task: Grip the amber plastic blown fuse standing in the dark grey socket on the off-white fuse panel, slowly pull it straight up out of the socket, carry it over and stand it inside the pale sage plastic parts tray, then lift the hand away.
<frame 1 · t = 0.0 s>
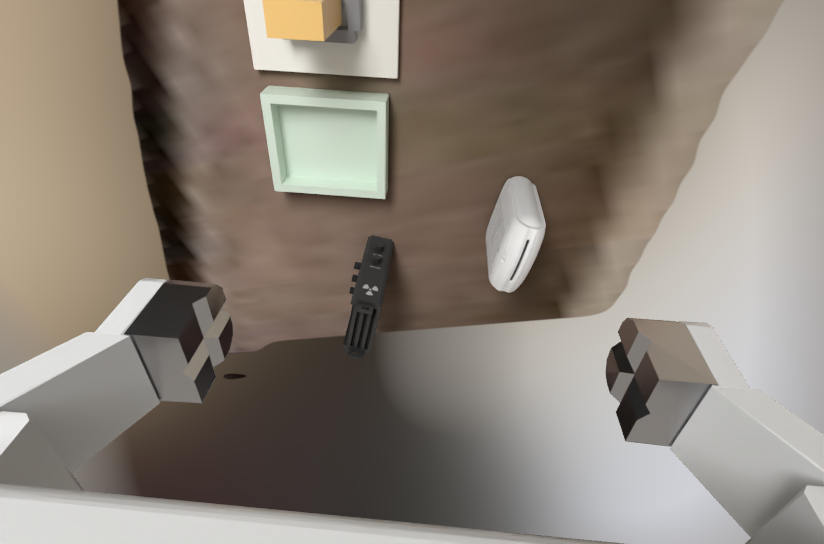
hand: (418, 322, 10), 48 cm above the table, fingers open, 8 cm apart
blown fuse: (320, 1, 48), point 1 cm above the table, touching fuse panel
photo printer: (508, 209, 62), on the table
geiger counter: (373, 260, 69), on the table
parts tray: (331, 139, 58), on the table
fuse panel: (322, 0, 49), on the table
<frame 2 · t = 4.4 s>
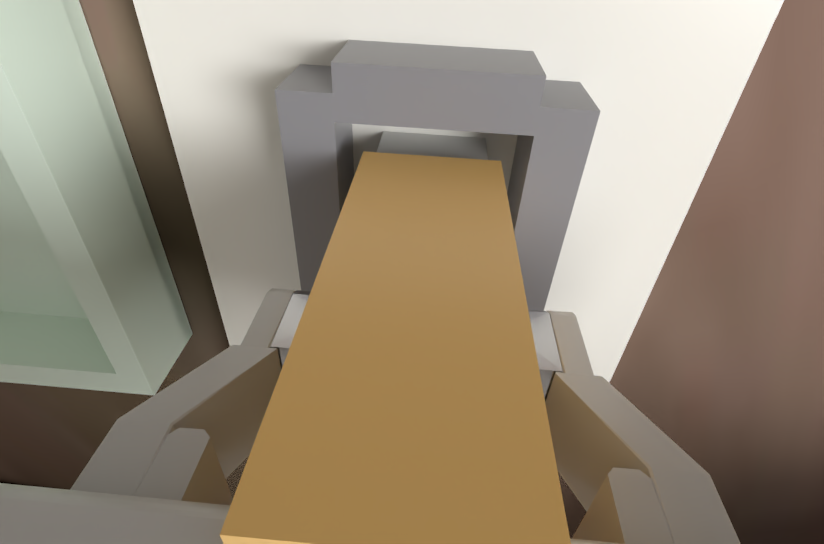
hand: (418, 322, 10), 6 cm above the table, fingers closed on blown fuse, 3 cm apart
blown fuse: (428, 209, 13), point 1 cm above the table, touching fuse panel, gripper
fuse panel: (430, 192, 14), on the table
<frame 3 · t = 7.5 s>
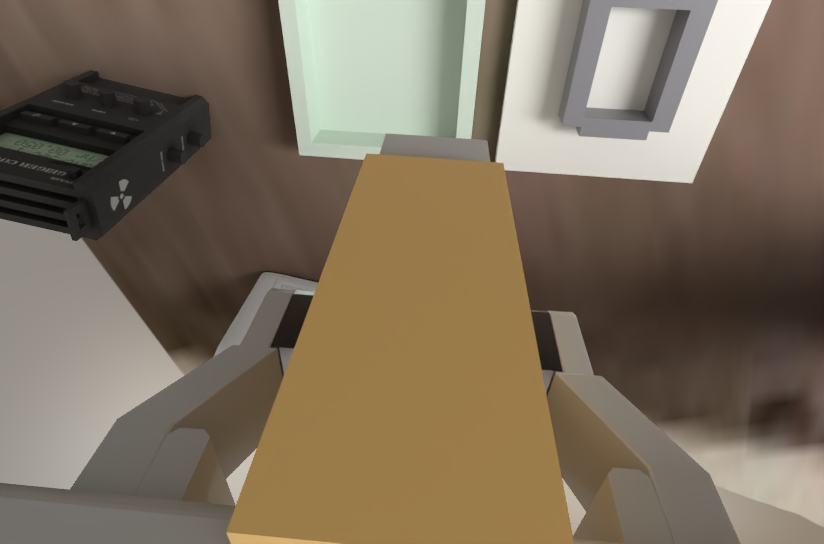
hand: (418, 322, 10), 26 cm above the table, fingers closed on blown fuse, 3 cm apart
blown fuse: (430, 211, 13), point 22 cm above the table, touching gripper
photo printer: (310, 292, 46), on the table
geiger counter: (154, 101, 36), on the table
parts tray: (388, 42, 31), on the table
fuse panel: (621, 54, 30), on the table
when the fingers open (7 cm above the table, at t = 10.6 s): blown fuse drops 1 cm, resting on parts tray.
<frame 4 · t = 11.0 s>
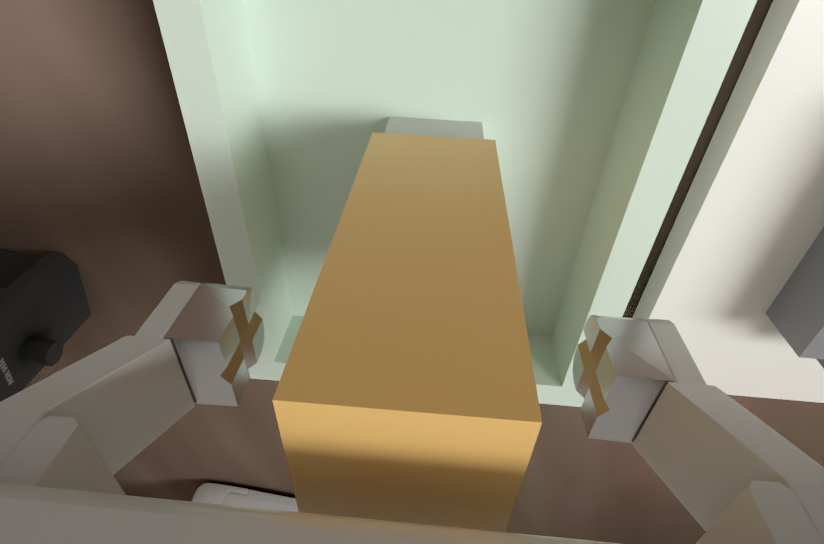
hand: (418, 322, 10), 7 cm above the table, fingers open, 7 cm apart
blown fuse: (431, 189, 15), point 1 cm above the table, touching parts tray
photo printer: (279, 501, 30), on the table
parts tray: (431, 176, 15), on the table
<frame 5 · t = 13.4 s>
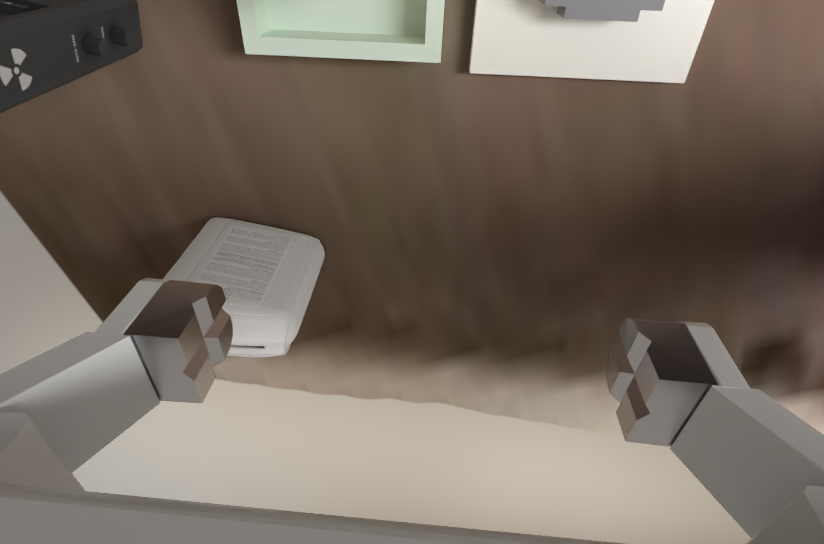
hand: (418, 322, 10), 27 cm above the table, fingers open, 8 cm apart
photo printer: (267, 241, 41), on the table
geiger counter: (71, 0, 31), on the table
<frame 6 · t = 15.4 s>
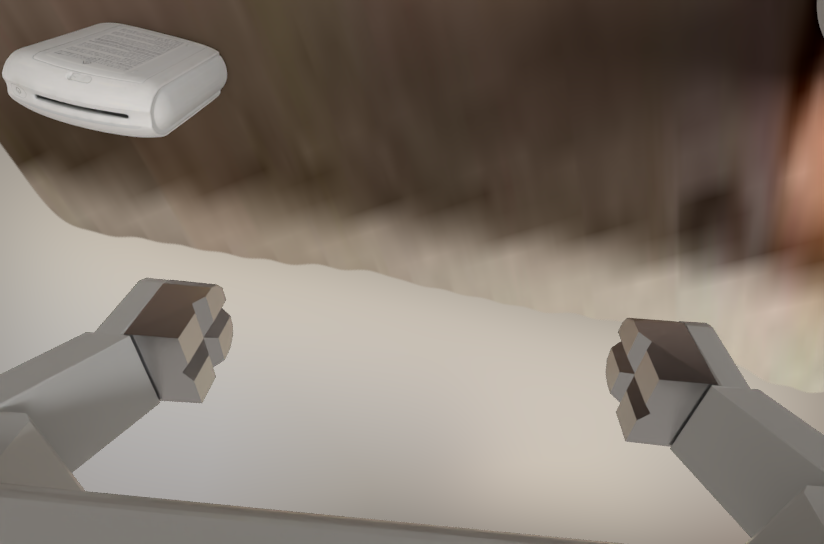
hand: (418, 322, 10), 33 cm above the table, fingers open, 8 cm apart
photo printer: (167, 57, 39), on the table
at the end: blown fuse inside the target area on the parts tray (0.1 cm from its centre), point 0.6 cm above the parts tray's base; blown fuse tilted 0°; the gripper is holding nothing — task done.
